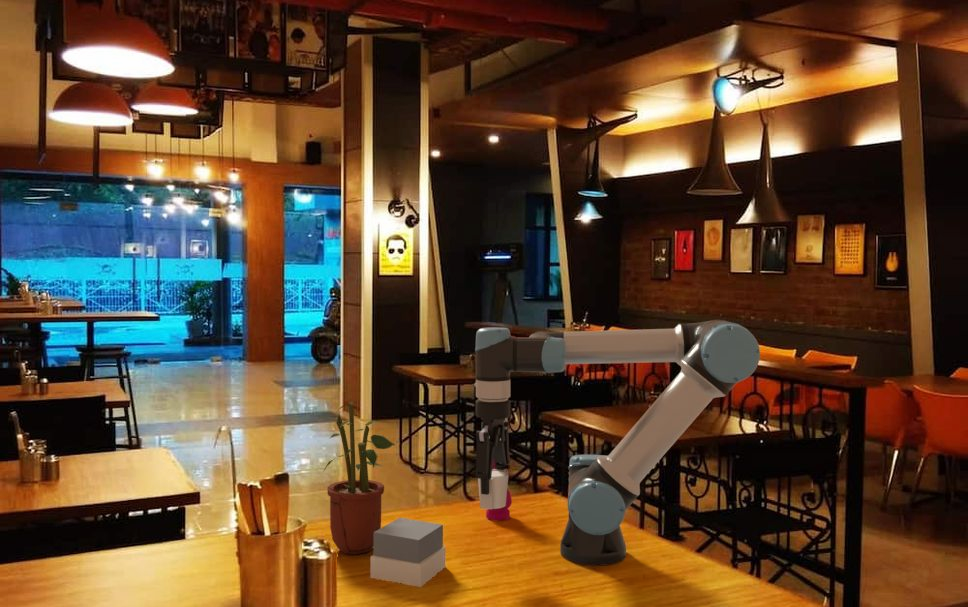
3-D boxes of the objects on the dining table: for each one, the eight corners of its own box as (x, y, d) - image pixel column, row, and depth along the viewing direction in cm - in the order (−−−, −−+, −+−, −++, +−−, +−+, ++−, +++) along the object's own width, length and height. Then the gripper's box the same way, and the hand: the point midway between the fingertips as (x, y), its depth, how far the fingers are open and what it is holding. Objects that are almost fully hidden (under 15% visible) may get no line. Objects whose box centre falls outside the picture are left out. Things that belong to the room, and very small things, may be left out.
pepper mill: (482, 520, 208) (483, 445, 207) (486, 512, 216) (487, 439, 215) (509, 522, 207) (510, 446, 206) (513, 514, 214) (514, 440, 213)
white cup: (496, 511, 169) (496, 479, 169) (470, 505, 173) (471, 473, 173) (514, 504, 174) (515, 472, 174) (489, 498, 179) (489, 467, 178)
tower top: (442, 546, 176) (442, 524, 176) (418, 563, 166) (418, 540, 166) (399, 539, 180) (399, 517, 180) (373, 555, 170) (373, 532, 170)
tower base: (445, 568, 176) (445, 546, 176) (420, 588, 165) (420, 565, 165) (397, 560, 181) (397, 539, 181) (370, 579, 170) (370, 556, 170)
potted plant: (368, 563, 178) (368, 408, 176) (307, 554, 183) (307, 403, 181) (400, 538, 194) (401, 396, 193) (344, 530, 199) (344, 392, 198)
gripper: (493, 391, 183) (493, 489, 184) (458, 405, 165) (459, 514, 166) (524, 393, 180) (524, 493, 181) (492, 407, 162) (492, 518, 163)
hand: (493, 503), depth 174 cm, fingers closed on white cup, 7 cm apart
